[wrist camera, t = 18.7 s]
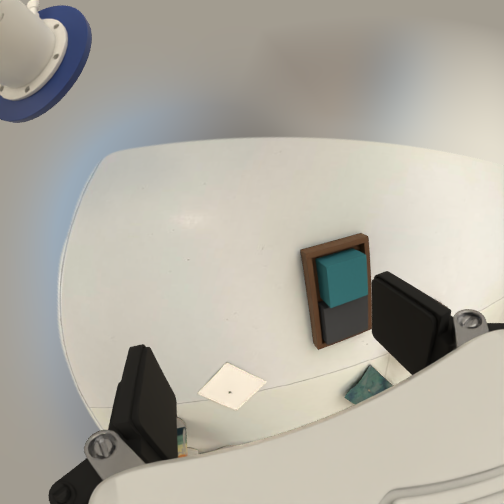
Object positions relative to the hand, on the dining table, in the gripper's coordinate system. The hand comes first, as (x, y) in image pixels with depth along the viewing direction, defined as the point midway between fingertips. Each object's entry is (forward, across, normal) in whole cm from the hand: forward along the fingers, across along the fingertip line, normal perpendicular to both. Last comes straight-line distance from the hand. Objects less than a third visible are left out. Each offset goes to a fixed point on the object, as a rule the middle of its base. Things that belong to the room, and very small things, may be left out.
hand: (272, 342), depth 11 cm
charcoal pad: (+25, -15, +18) cm, 34 cm away
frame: (+25, -15, +14) cm, 32 cm away
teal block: (+25, -15, +11) cm, 31 cm away
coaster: (+25, +4, +26) cm, 37 cm away
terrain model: (+25, -20, +39) cm, 51 cm away
